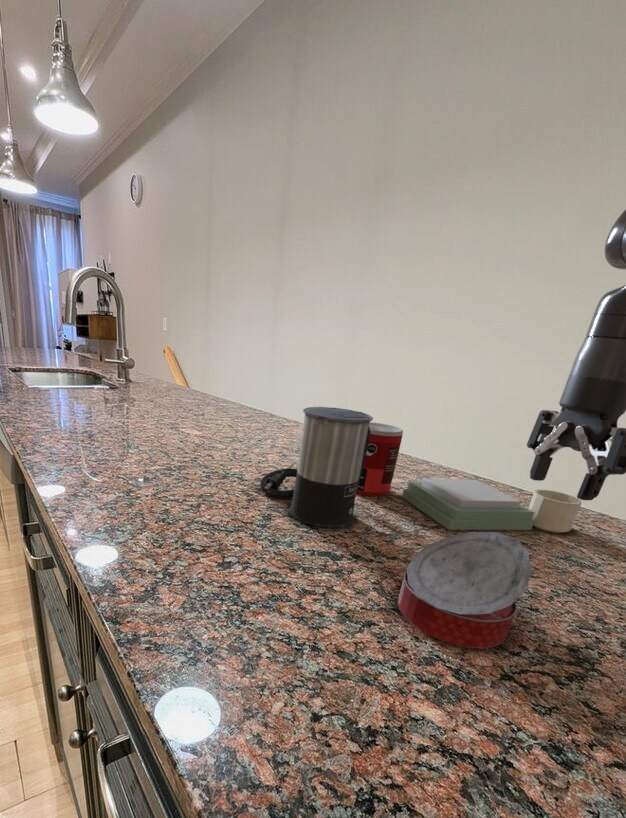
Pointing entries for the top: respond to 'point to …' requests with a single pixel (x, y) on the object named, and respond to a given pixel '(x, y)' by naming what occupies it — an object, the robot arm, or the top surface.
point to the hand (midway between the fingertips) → (559, 488)
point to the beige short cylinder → (554, 510)
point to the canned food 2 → (466, 588)
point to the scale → (466, 512)
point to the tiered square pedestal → (470, 494)
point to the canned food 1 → (380, 460)
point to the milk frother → (325, 467)
